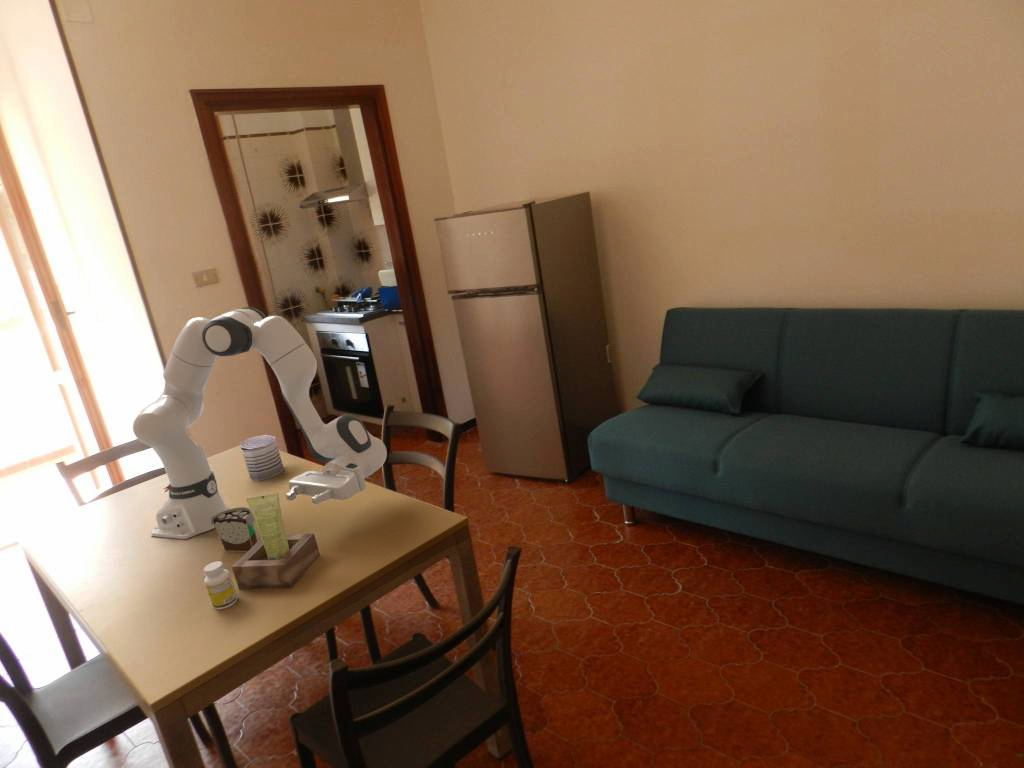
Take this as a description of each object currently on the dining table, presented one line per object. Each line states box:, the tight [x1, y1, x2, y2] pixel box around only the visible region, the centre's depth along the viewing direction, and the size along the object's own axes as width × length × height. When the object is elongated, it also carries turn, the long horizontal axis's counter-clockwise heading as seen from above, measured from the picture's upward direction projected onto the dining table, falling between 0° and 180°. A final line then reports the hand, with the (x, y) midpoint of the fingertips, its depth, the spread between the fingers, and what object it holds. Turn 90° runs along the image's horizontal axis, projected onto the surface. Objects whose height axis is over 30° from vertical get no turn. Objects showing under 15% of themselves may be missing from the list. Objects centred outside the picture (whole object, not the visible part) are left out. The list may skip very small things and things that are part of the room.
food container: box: [211, 506, 258, 553], centre depth 185 cm, size 12×6×10 cm, turn 71°
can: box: [239, 434, 285, 482], centre depth 234 cm, size 11×11×12 cm
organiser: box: [231, 532, 321, 590], centre depth 169 cm, size 14×14×6 cm
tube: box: [246, 492, 289, 560], centre depth 166 cm, size 6×5×20 cm
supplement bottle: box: [203, 560, 239, 611], centre depth 159 cm, size 5×5×10 cm
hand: (300, 499), depth 175 cm, fingers open, 8 cm apart
